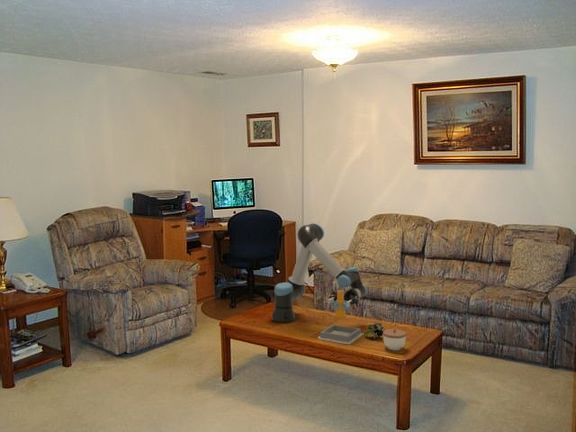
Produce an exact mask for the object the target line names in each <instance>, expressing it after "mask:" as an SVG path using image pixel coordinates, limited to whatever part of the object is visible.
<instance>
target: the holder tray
mask: <svg viewBox="0 0 576 432" xmlns="http://www.w3.org/2000/svg"><path fill="white" fill-rule="evenodd" d="M362 336H364V333H362V331H361V328H358V327H352V326H346V325H340V324H331V325H330V326H329V327H327V328H325V329H323V330H321V331H320V333H319V336H318V337H317V340H322V341H328V342H333V343H338V344H343V345H351V344H353V343H354V342H355V341H356V340H358V339H360V337H362Z"/></svg>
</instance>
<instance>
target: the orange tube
mask: <svg viewBox="0 0 576 432" xmlns="http://www.w3.org/2000/svg"><path fill="white" fill-rule="evenodd" d="M336 291H337V292H336V295H337V300H336V301H333V302H331V303H330V304H329V306H330V308H331V309H334V310H335V314H334V315H335V317H337V318H344V317H346V312H347V311H346V310H349V309H350V308H351V307H352V305H350V306H348V307H346V304H347V302H348V301H346V300H344V294H345V290H342V289H338V290H336ZM333 303H334V306H332V305H333Z"/></svg>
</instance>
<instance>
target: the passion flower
mask: <svg viewBox="0 0 576 432" xmlns="http://www.w3.org/2000/svg"><path fill="white" fill-rule="evenodd" d="M384 330H386V329H385V328H384V326H383V324H382V323H380V322H374V323H371V324H370V323H368V326H367V329H366V330H365V332H364V333H363V336H364V337H368V336H369V335H370V336H369V337H370V338H373V339H372V340H373V341H374V340H375V339H376V337H379V338H380V337H383V331H384Z"/></svg>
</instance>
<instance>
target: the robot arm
mask: <svg viewBox="0 0 576 432" xmlns="http://www.w3.org/2000/svg"><path fill="white" fill-rule="evenodd" d="M324 235H325V231H324V228H323V227H322V226H321V224H319V223H314V222H313V223H312V222H311V223H310V224H304V225H302V226H300V228H299V229H298V230H297V239H298V241H299V243H300V244H301V246H300V250H299V252H298V255H297V258H296V263H295V266H294V268H293V270H292V275H291V276H289V277H288V278H287V282H279V283H277V284H276V285H275V286H274V309H273V311H272V314H271V321H272V322H275V323H281V324H286V323H287V324H288V323H292V322H295V321H296V316H295V311H294V309H293V302H294V301H297V300H298V299H301V297H303V296H304V294H305V292H306V286H305V285H306V281H305V277H306V275H307V272H308V269H309V265H310V263H311V259H312V257H313V256H314V257H315V258H316V259H317V260H318V261H319V262H320V263H321V265H323V266H324V268H326V270H327V271H328V272H329V273H330V274H331V275H332V276H333V277H334V278H335V279H336V282H337V284H338V286H339V287H340V288H345V289H346V288H348V287H349V286H350V288H349V289H348V290H346V291H345V292H344V300H346V302H347V303H346V307H349V306H350V305H351V306H352V305H358V304H359V302H360V299H361V298H363V297H365V296H366V294H367V291H368V290H367V287H366V286H365V285H364V284H363V282H362V279H361V275H360V271H359V268H358V267H357V266H354V267H349V268H347V269H344V268H343V267H342V266H341V265H340V264H339V263H338V262H337V260H336V259H335V258H334V257H333V256H332V254H330V253H329V252H328V250H326V249H325V247H323V245H322V244H321V243H320V241H322V240H323V238H324ZM328 297H329V299H327V301H328V302H327V305H330V303H331V302H333V301H336V300H337V294H333V295H331V296H328ZM336 302H337V301H336Z"/></svg>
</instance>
